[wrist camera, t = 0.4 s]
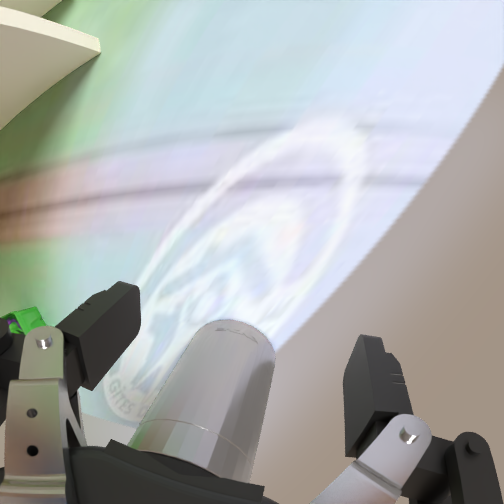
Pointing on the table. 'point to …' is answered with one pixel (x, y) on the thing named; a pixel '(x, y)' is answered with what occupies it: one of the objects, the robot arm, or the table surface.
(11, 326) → the fruit basket
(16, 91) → the stand
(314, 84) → the table surface
